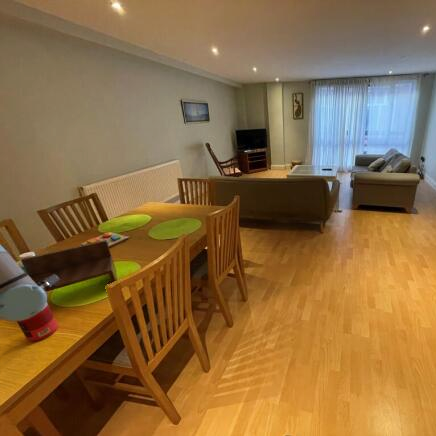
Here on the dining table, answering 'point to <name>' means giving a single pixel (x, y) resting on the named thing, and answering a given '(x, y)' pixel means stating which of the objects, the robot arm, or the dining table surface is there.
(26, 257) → the pill bottle
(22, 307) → the robot arm
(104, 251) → the shelf
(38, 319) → the canned food
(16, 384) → the dining table surface
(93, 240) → the puzzle board
